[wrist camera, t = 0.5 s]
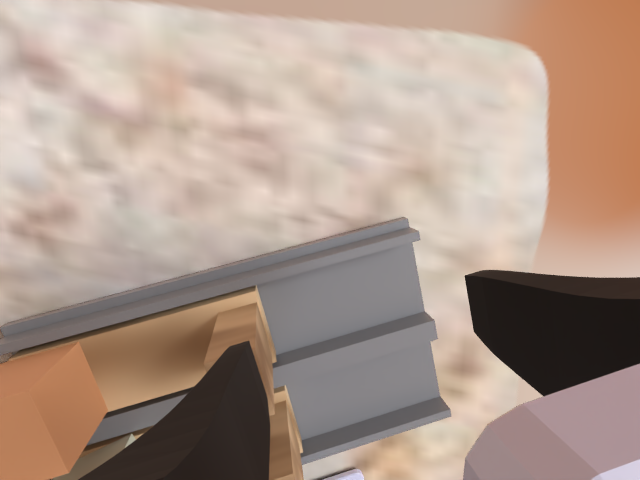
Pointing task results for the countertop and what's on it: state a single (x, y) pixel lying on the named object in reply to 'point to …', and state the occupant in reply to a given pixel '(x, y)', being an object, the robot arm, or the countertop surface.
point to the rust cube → (47, 413)
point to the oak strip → (172, 347)
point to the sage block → (96, 458)
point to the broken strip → (282, 440)
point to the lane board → (300, 335)
